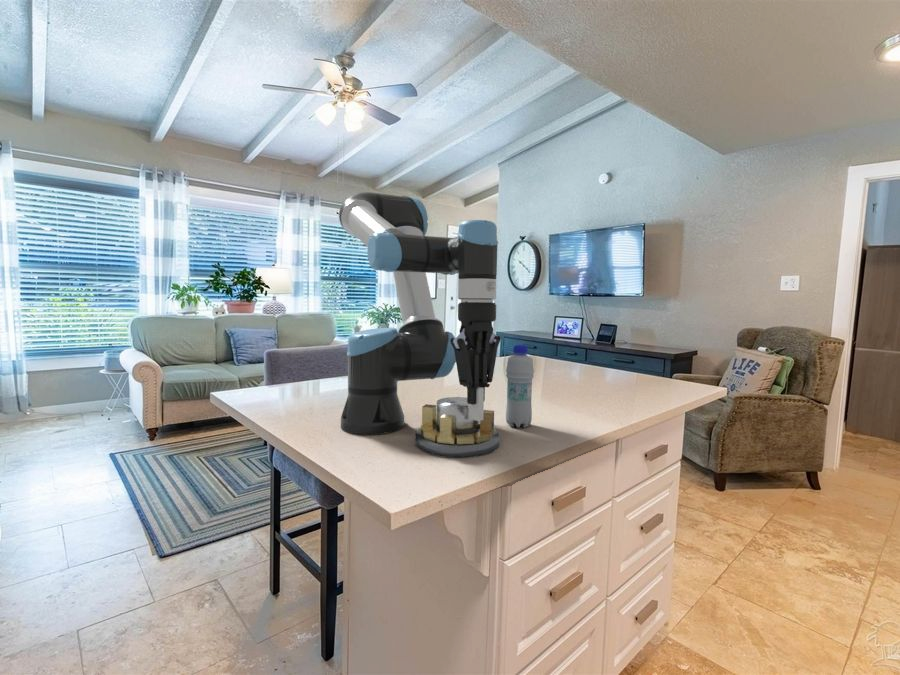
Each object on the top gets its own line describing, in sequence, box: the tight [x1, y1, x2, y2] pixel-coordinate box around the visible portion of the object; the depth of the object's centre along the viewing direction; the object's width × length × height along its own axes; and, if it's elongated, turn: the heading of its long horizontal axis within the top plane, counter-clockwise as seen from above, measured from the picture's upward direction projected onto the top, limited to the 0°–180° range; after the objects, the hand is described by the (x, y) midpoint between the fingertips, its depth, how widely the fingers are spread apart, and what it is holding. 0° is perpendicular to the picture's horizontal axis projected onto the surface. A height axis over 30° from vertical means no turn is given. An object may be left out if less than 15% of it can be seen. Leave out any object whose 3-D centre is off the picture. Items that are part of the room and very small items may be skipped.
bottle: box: [505, 344, 535, 429], centre depth 110 cm, size 7×7×20 cm
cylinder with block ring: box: [420, 404, 495, 444], centre depth 97 cm, size 15×15×5 cm
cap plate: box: [414, 396, 500, 459], centre depth 97 cm, size 18×18×9 cm
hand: (475, 419), depth 91 cm, fingers closed
